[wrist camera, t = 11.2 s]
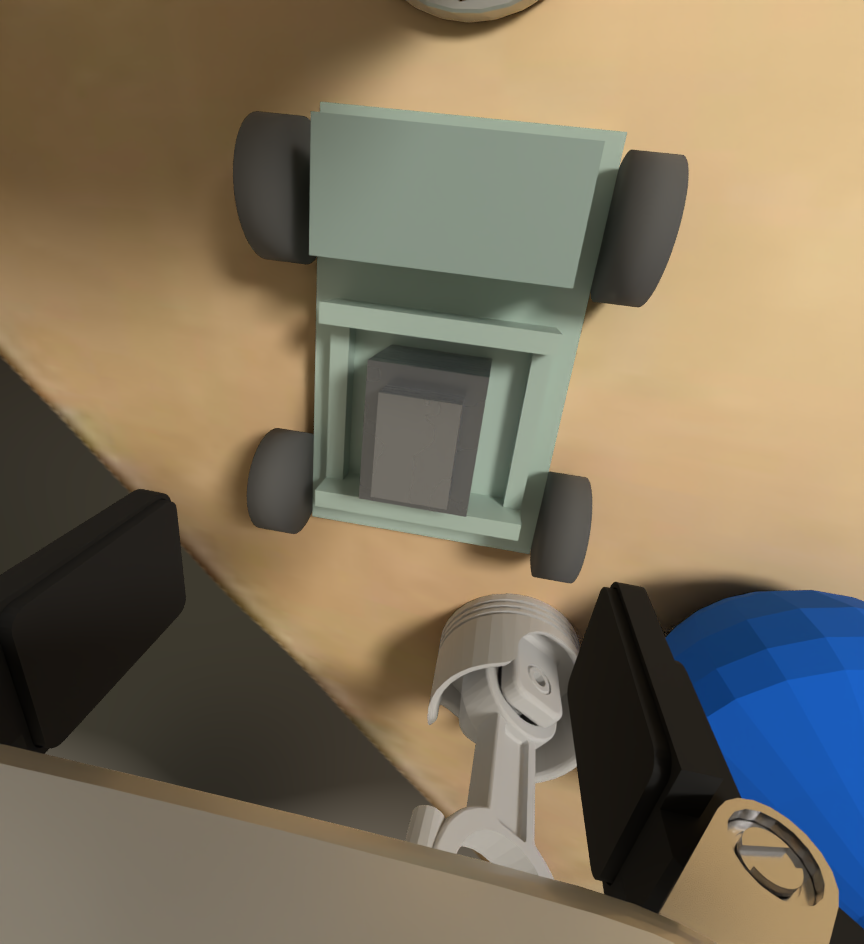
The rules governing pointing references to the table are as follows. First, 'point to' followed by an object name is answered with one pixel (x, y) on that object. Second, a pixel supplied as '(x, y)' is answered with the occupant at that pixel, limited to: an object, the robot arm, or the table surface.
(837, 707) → the vase
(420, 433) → the block
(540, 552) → the chassis
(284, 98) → the table surface
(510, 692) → the engine component
